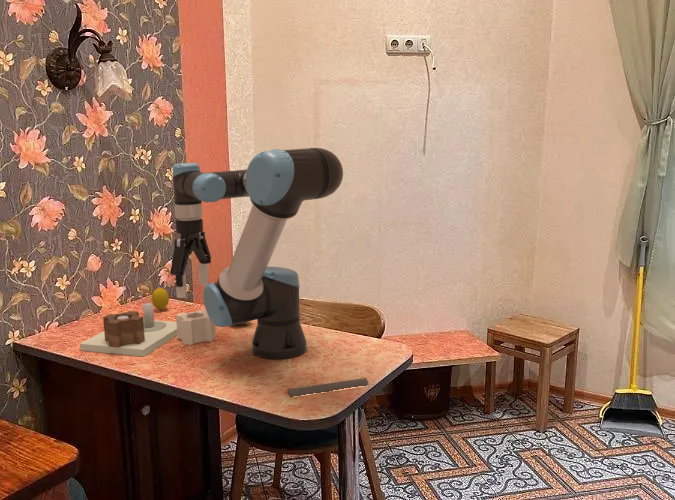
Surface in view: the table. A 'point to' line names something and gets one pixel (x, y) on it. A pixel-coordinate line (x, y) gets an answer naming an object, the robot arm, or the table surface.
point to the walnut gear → (124, 329)
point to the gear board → (154, 338)
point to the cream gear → (195, 327)
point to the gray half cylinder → (327, 387)
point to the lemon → (160, 298)
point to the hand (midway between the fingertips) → (193, 291)
